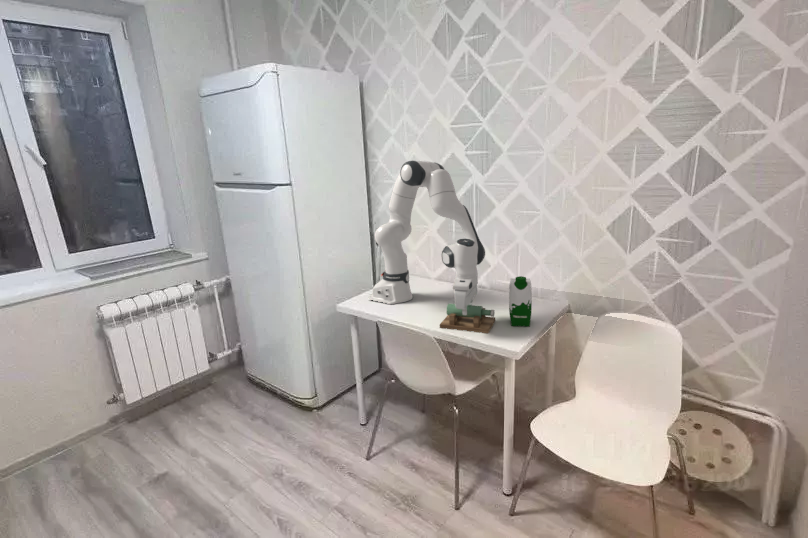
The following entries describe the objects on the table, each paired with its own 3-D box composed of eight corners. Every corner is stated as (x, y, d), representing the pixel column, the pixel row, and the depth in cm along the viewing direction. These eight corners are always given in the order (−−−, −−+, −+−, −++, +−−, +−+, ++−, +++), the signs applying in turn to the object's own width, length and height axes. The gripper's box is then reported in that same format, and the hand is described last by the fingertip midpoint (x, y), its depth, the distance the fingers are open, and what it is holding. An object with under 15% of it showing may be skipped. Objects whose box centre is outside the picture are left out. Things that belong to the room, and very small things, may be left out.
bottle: (445, 311, 172) (448, 301, 174) (448, 317, 175) (451, 307, 178) (491, 314, 164) (493, 304, 166) (493, 321, 167) (495, 311, 170)
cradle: (488, 333, 163) (487, 320, 162) (439, 327, 171) (439, 315, 170) (495, 320, 174) (495, 308, 173) (449, 316, 183) (449, 304, 181)
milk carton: (509, 327, 168) (509, 279, 162) (508, 318, 176) (509, 272, 171) (532, 327, 165) (532, 279, 160) (530, 318, 174) (531, 272, 169)
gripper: (466, 271, 178) (467, 302, 182) (451, 286, 160) (452, 320, 164) (480, 272, 175) (481, 303, 179) (467, 288, 158) (468, 321, 161)
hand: (467, 311), depth 171 cm, fingers closed on bottle, 5 cm apart
